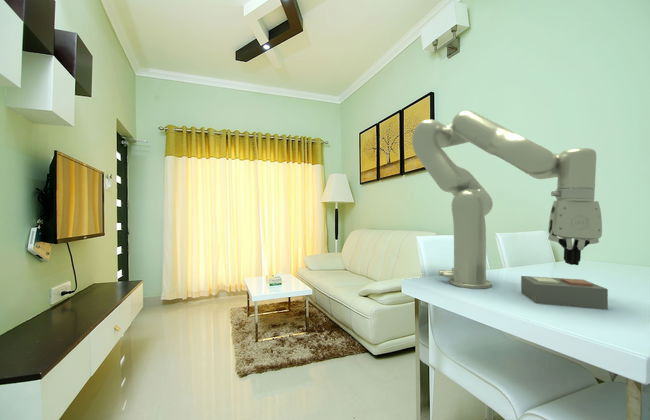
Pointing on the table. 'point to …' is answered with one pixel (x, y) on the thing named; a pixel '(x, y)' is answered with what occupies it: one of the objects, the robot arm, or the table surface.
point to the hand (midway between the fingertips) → (571, 263)
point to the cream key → (545, 280)
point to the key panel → (565, 293)
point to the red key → (576, 282)
